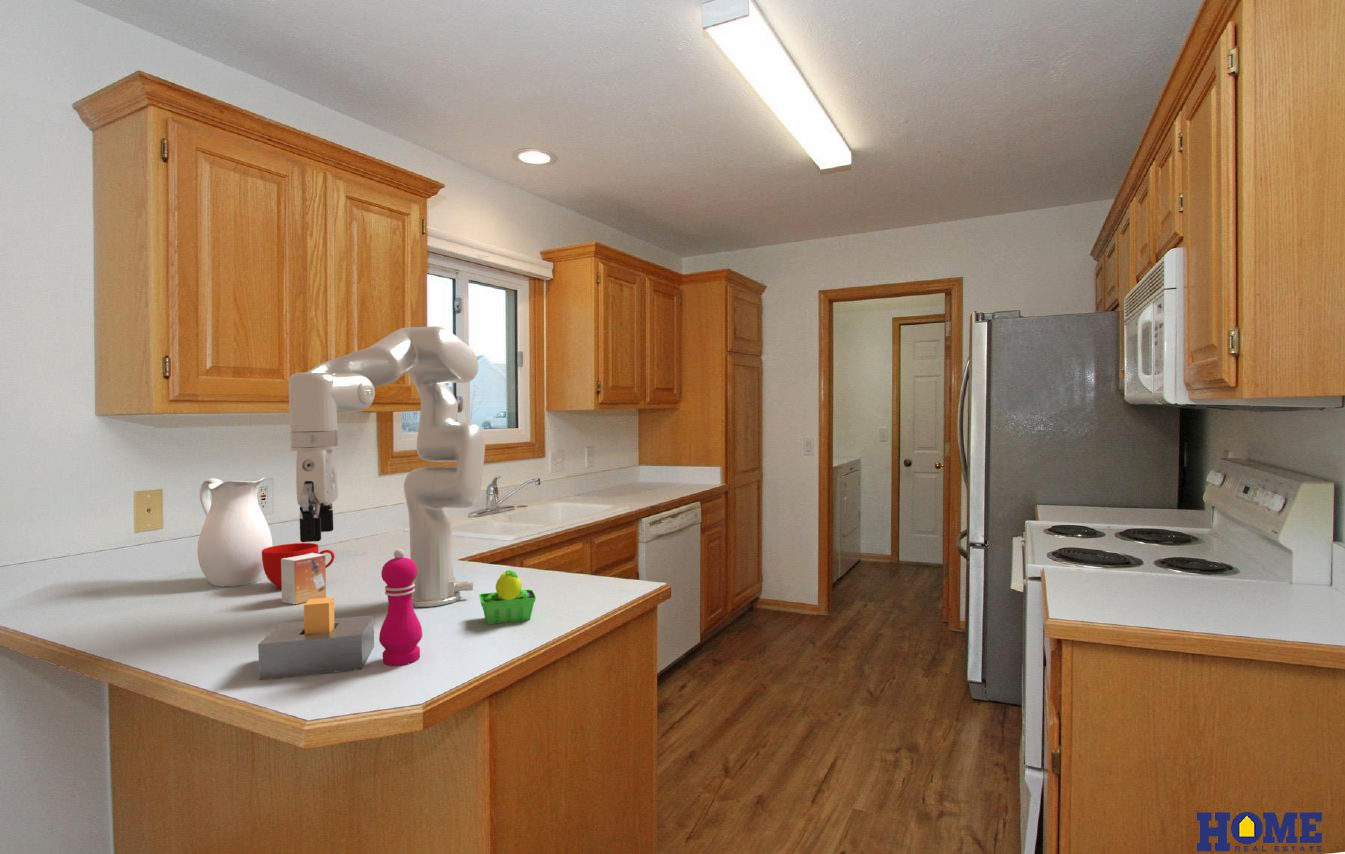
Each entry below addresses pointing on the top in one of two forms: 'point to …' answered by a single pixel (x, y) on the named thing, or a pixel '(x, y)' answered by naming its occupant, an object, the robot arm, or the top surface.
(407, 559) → the pepper mill
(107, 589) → the top surface
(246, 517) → the pitcher
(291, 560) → the small box
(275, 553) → the ceramic cup
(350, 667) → the socket block
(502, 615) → the fruit basket
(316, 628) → the wedge peg
